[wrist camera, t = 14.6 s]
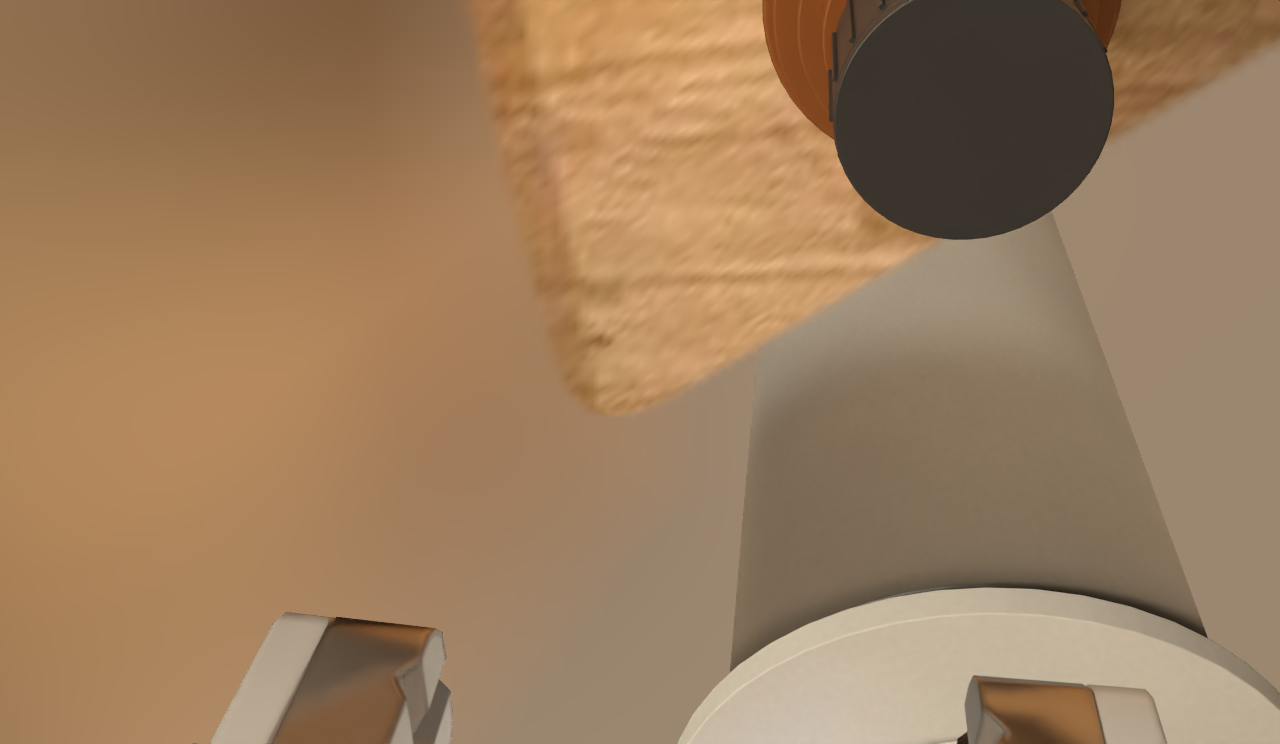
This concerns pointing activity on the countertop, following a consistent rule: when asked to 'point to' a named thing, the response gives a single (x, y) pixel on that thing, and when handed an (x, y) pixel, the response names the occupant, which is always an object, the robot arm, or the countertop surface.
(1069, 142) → the cap
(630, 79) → the countertop surface
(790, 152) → the countertop surface
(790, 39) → the bottle
